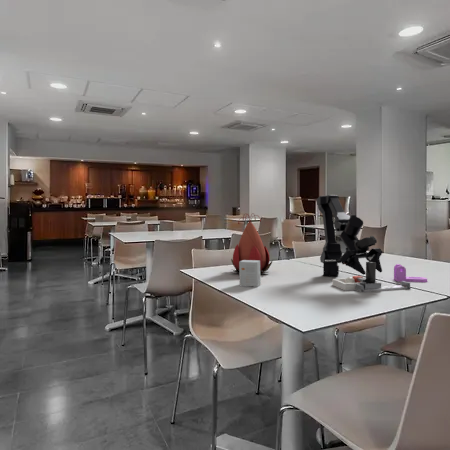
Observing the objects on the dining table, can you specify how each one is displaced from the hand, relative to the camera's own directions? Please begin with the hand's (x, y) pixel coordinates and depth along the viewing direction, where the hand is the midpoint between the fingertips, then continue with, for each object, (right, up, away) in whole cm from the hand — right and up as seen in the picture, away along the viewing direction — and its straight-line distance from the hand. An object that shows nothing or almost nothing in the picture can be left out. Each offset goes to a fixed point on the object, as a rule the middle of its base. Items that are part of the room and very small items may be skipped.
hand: (373, 272), depth 147 cm
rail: (+5, -7, +3) cm, 9 cm away
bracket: (+24, -6, +19) cm, 32 cm away
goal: (-7, -7, +8) cm, 13 cm away
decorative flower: (-45, -6, +42) cm, 62 cm away
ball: (-6, -5, +8) cm, 11 cm away
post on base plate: (-1, -7, +5) cm, 8 cm away
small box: (-47, -7, +13) cm, 50 cm away
